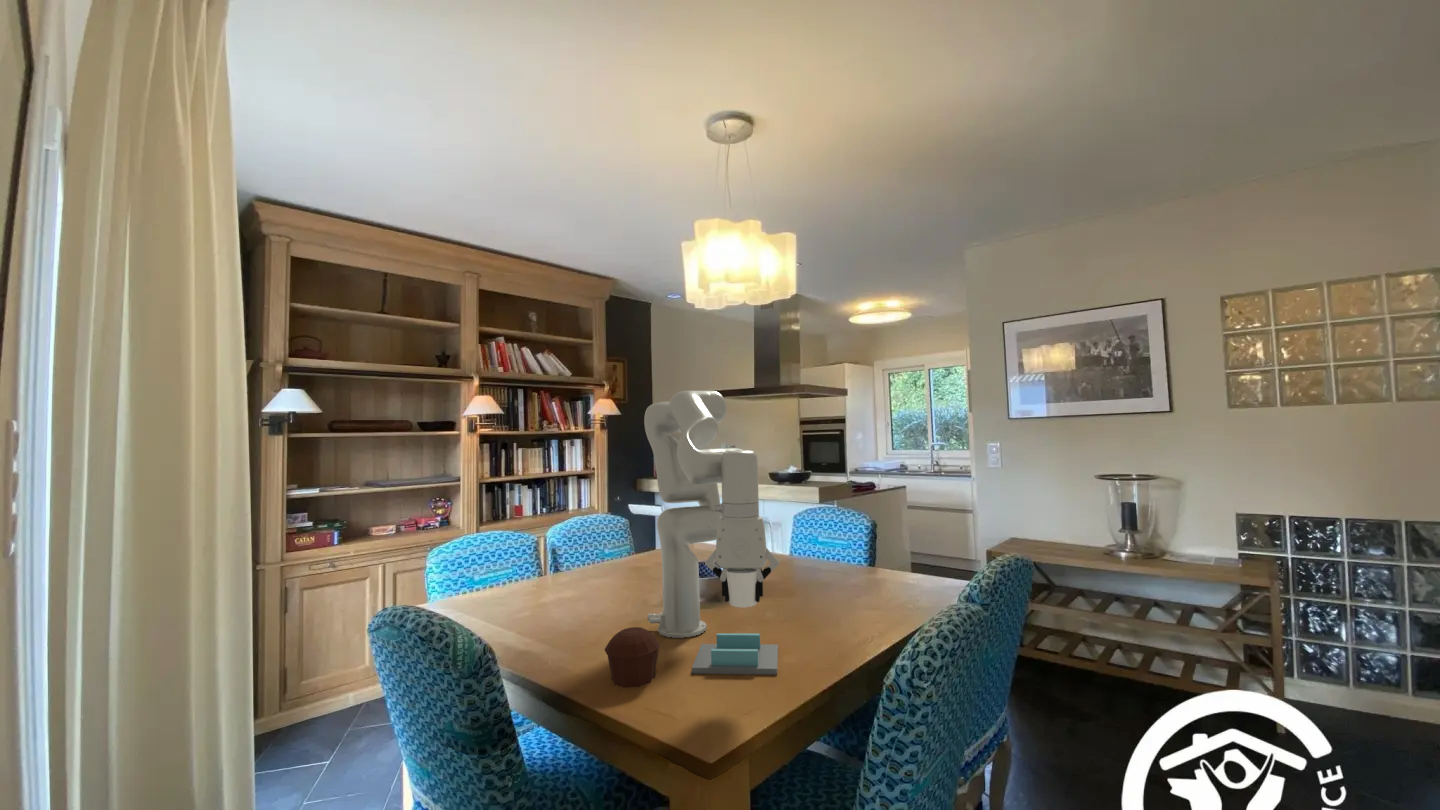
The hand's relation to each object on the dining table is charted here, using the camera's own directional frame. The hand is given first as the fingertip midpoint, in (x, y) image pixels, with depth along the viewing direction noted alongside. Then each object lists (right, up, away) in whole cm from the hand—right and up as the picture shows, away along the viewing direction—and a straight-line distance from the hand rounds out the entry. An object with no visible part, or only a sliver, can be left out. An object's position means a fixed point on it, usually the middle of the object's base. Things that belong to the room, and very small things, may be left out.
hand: (742, 599), depth 118 cm
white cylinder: (0, -1, 0) cm, 1 cm away
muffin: (-23, -18, +3) cm, 29 cm away
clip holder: (-1, -17, +11) cm, 20 cm away
